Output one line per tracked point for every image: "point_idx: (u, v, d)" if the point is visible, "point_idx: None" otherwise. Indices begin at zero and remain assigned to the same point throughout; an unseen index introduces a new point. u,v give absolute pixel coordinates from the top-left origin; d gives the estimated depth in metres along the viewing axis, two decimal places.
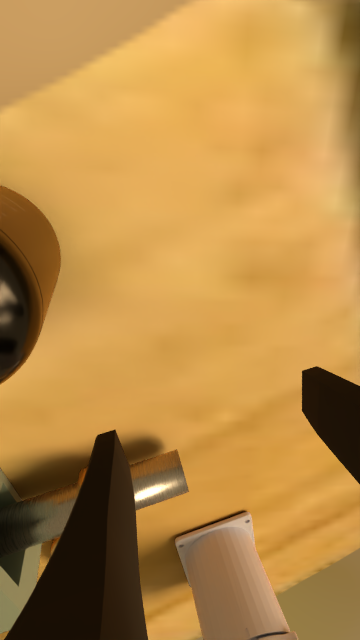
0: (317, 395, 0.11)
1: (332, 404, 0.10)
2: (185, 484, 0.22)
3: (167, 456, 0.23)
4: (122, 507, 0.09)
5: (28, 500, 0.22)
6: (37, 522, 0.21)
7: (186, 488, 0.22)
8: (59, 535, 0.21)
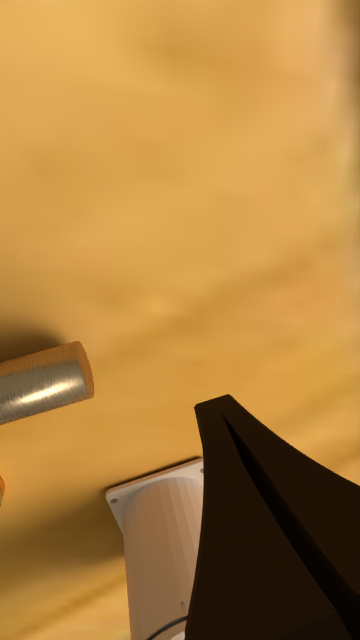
0: None
1: (232, 437, 0.10)
2: (79, 380, 0.15)
3: (60, 346, 0.16)
4: None
5: None
6: None
7: (82, 387, 0.15)
8: None
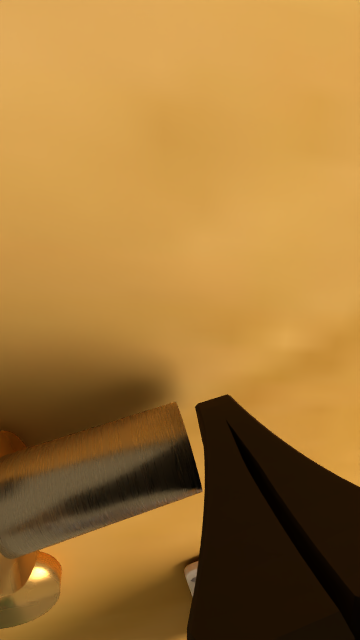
0: None
1: None
2: (195, 474, 0.09)
3: (154, 413, 0.10)
4: None
5: None
6: None
7: (197, 484, 0.10)
8: None
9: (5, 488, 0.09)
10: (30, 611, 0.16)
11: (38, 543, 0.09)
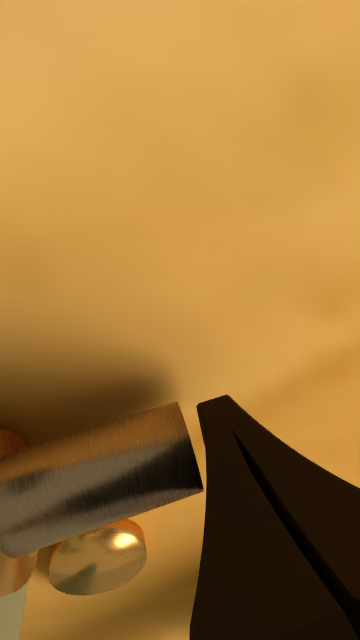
0: None
1: None
2: (196, 474, 0.09)
3: (155, 413, 0.10)
4: None
5: None
6: None
7: (198, 483, 0.10)
8: None
9: (6, 487, 0.09)
10: (116, 578, 0.16)
11: (39, 542, 0.09)
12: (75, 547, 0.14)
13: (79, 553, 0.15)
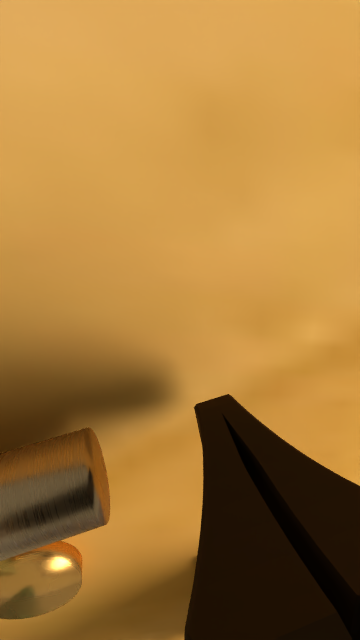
0: None
1: (232, 437, 0.10)
2: (90, 509, 0.09)
3: (58, 441, 0.10)
4: None
5: None
6: None
7: (94, 518, 0.09)
8: None
9: None
10: (51, 601, 0.16)
11: None
12: (0, 572, 0.14)
13: (6, 578, 0.14)
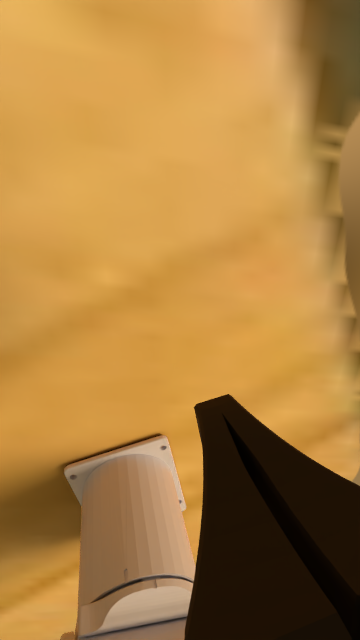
0: None
1: (232, 437, 0.10)
2: None
3: None
4: None
5: None
6: None
7: None
8: None
9: None
10: None
11: None
12: None
13: None
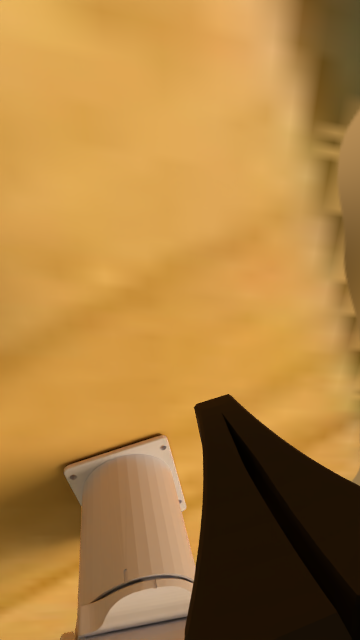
0: None
1: (232, 437, 0.10)
2: None
3: None
4: None
5: None
6: None
7: None
8: None
9: None
10: None
11: None
12: None
13: None
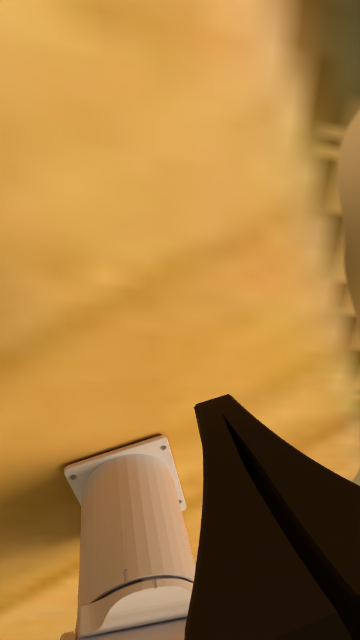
0: None
1: (232, 437, 0.10)
2: None
3: None
4: None
5: None
6: None
7: None
8: None
9: None
10: None
11: None
12: None
13: None
